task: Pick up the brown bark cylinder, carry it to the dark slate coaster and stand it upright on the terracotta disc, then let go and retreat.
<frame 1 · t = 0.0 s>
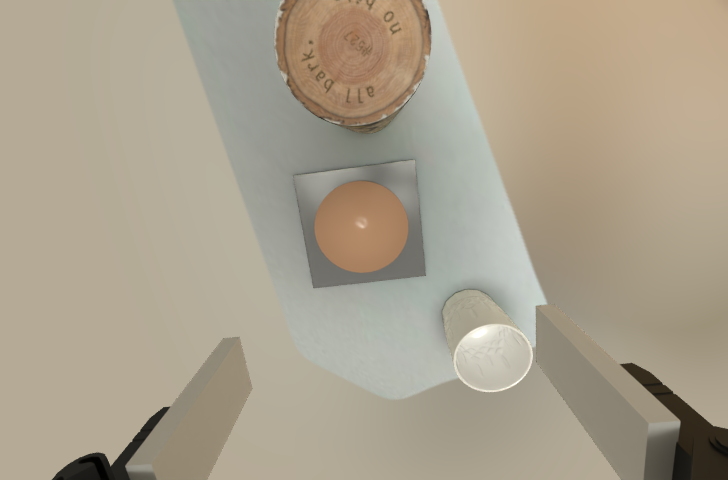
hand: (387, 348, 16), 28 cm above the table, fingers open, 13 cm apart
coaster: (361, 226, 43), on the table
white cup: (468, 312, 46), on the table
brown bark cylinder: (366, 101, 40), on the table
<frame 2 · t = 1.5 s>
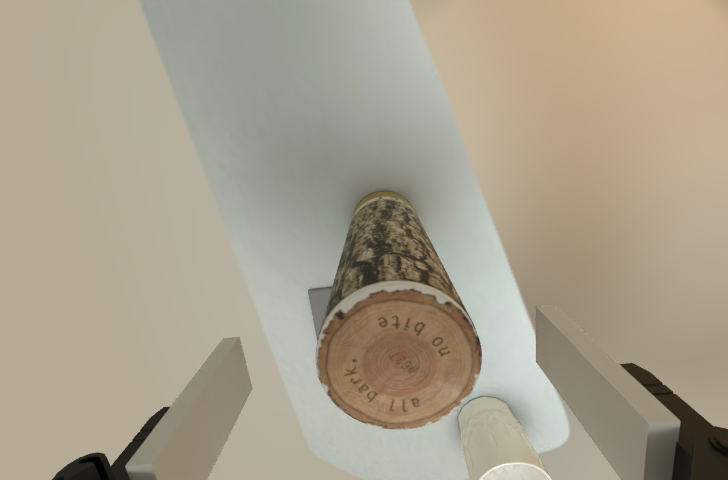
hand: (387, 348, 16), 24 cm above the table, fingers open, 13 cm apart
coaster: (377, 337, 43), on the table
white cup: (484, 417, 46), on the table
brown bark cylinder: (384, 221, 39), on the table
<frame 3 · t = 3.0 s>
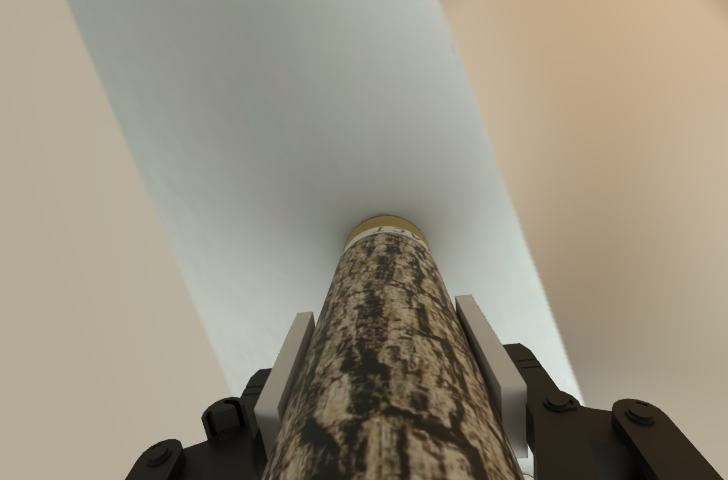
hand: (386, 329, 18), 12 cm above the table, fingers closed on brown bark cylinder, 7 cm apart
brown bark cylinder: (386, 254, 29), on the table, touching gripper
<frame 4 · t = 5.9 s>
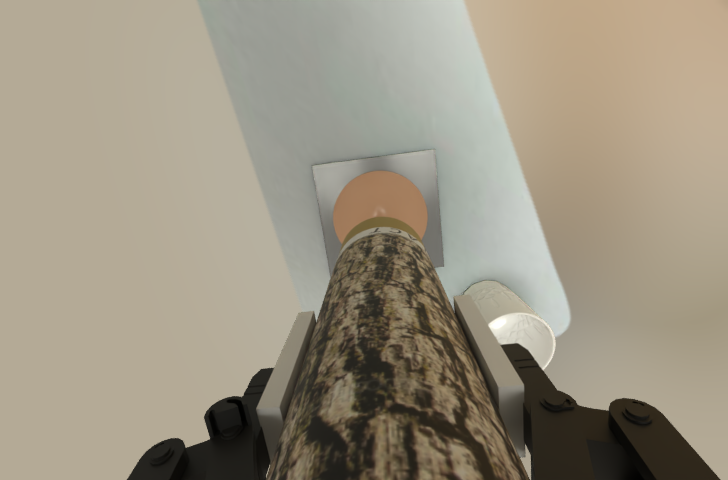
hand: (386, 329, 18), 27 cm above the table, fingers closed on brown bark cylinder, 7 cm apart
coaster: (380, 216, 43), on the table
white cup: (485, 303, 46), on the table
brown bark cylinder: (382, 254, 29), point 14 cm above the table, touching gripper
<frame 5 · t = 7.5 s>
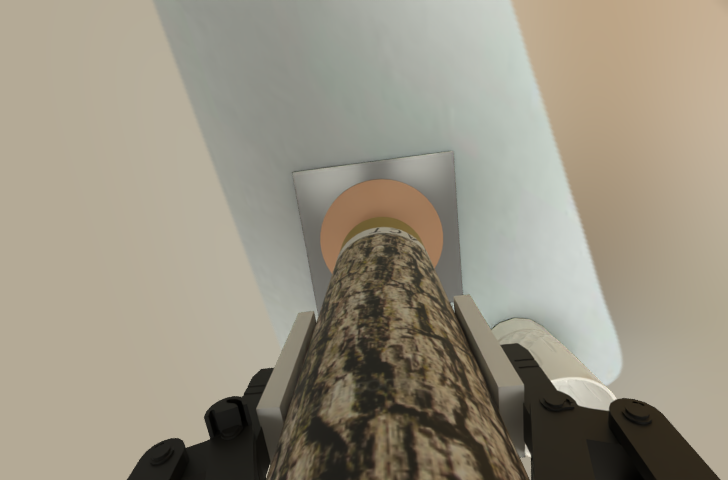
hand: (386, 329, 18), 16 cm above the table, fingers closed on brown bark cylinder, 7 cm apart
coaster: (381, 237, 33), on the table
white cup: (514, 346, 36), on the table
brown bark cylinder: (382, 254, 29), point 4 cm above the table, touching gripper
when the fingers open (14 cm above the table, at t = 8.8 s): brown bark cylinder stays where it is, resting on coaster.
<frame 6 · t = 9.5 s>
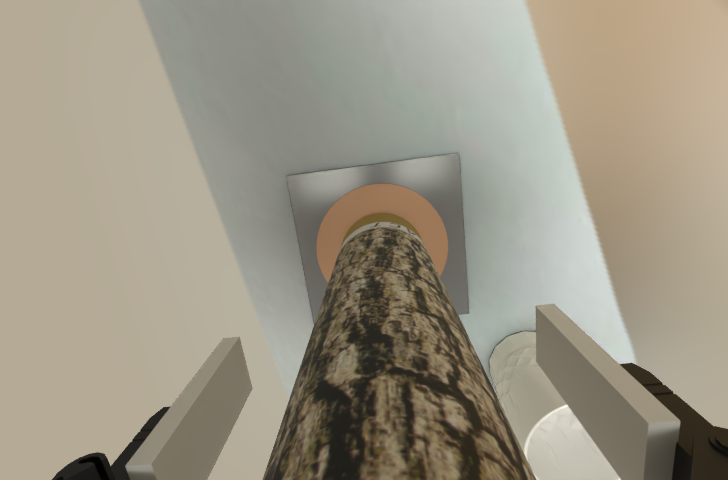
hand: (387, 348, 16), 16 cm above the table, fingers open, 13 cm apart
coaster: (381, 245, 31), on the table
white cup: (523, 360, 34), on the table
brown bark cylinder: (381, 250, 30), point 1 cm above the table, touching coaster
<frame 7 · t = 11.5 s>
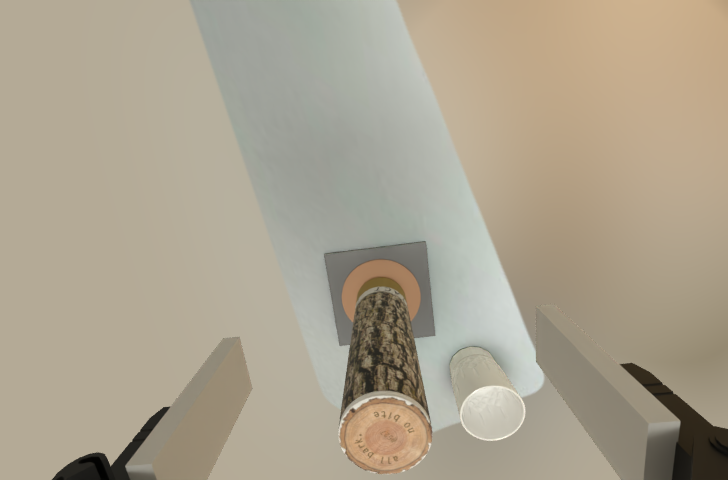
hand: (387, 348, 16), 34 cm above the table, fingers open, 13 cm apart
coaster: (380, 294, 51), on the table
white cup: (471, 365, 54), on the table
brown bark cylinder: (381, 297, 50), point 1 cm above the table, touching coaster
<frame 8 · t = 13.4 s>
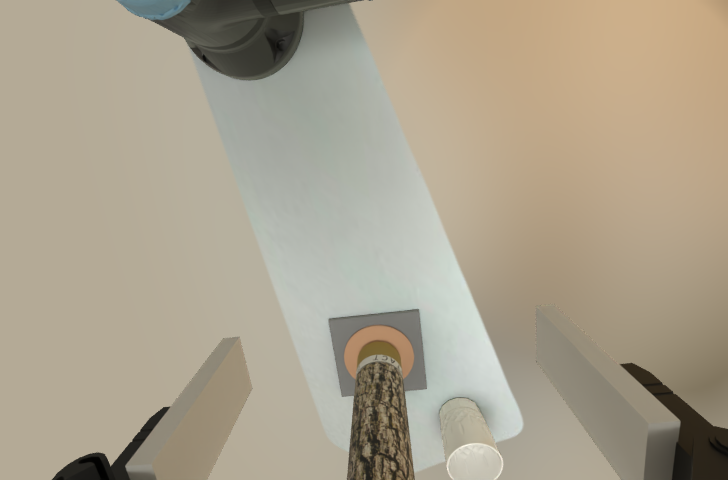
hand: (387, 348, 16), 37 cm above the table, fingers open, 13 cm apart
coaster: (378, 353, 58), on the table
white cup: (459, 413, 61), on the table
brown bark cylinder: (379, 357, 57), point 1 cm above the table, touching coaster
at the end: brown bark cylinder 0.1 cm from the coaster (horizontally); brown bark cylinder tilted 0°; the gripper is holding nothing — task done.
